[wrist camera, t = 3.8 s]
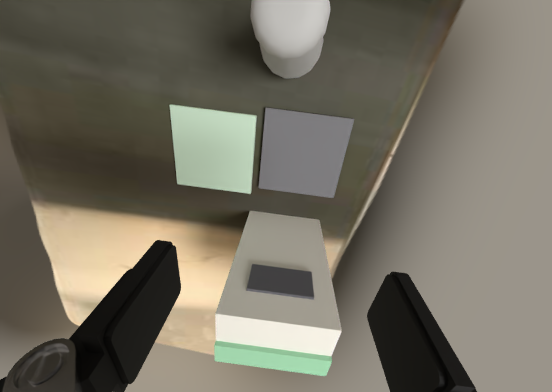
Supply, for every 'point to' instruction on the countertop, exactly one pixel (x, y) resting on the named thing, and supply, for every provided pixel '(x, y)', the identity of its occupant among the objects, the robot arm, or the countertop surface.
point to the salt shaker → (290, 33)
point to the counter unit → (279, 298)
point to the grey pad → (303, 151)
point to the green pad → (213, 148)
